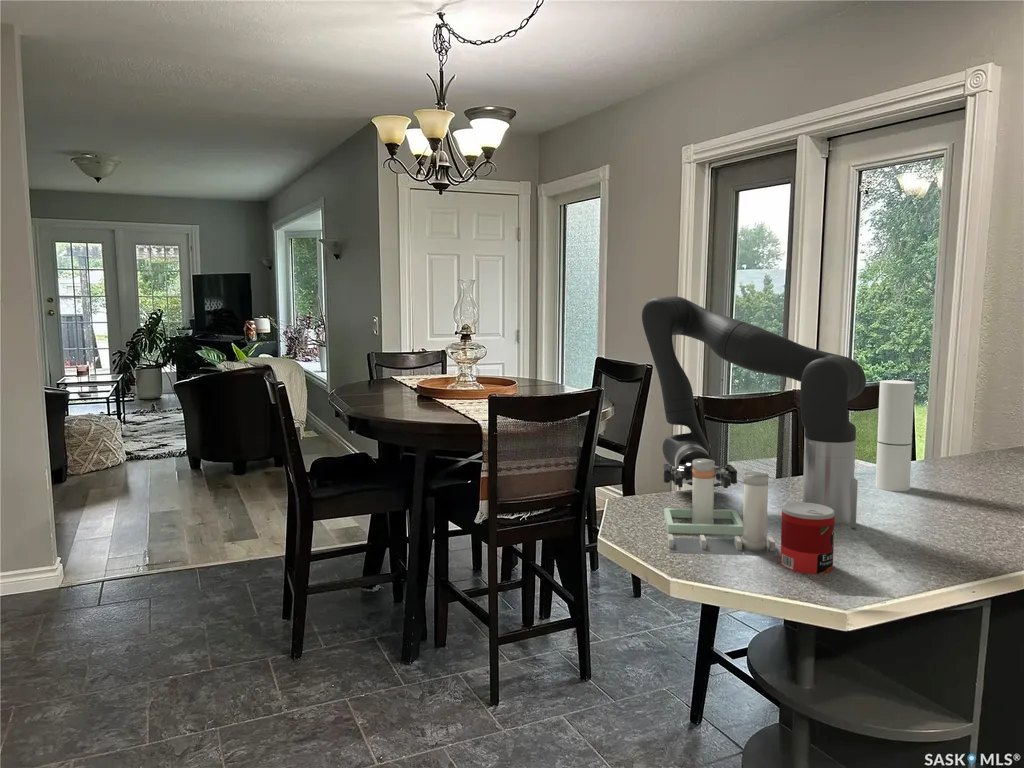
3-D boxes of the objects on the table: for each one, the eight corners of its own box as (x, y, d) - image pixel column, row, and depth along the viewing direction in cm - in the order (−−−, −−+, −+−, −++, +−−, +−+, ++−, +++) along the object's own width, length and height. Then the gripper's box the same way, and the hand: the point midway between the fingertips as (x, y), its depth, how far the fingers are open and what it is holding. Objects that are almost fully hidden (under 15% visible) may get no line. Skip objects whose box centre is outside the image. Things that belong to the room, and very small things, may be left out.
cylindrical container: (910, 486, 173) (915, 381, 170) (908, 492, 167) (913, 384, 164) (877, 482, 177) (881, 379, 174) (873, 489, 171) (878, 382, 168)
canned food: (828, 586, 114) (830, 518, 113) (775, 577, 118) (777, 510, 117) (836, 570, 121) (838, 505, 119) (785, 562, 125) (787, 499, 124)
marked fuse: (712, 524, 143) (713, 458, 142) (714, 530, 139) (716, 463, 138) (690, 523, 144) (691, 458, 142) (692, 529, 140) (693, 463, 138)
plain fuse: (764, 543, 130) (765, 472, 128) (769, 551, 126) (770, 477, 124) (740, 543, 130) (741, 471, 129) (744, 550, 126) (745, 477, 125)
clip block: (768, 548, 132) (768, 532, 132) (778, 564, 124) (778, 547, 124) (666, 545, 134) (666, 529, 134) (669, 560, 126) (670, 544, 126)
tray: (735, 524, 146) (735, 509, 146) (745, 542, 135) (745, 526, 135) (663, 522, 148) (663, 508, 148) (668, 540, 137) (668, 524, 137)
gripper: (659, 446, 157) (665, 463, 141) (728, 447, 155) (742, 464, 139) (659, 480, 158) (665, 501, 142) (727, 481, 156) (741, 502, 140)
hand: (703, 482), depth 141 cm, fingers open, 8 cm apart
